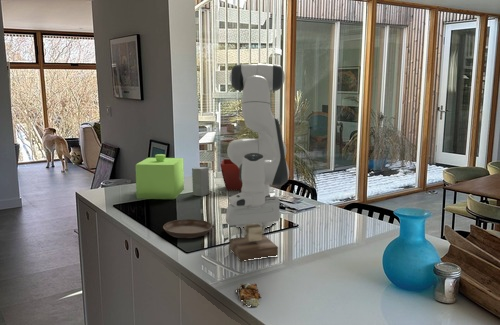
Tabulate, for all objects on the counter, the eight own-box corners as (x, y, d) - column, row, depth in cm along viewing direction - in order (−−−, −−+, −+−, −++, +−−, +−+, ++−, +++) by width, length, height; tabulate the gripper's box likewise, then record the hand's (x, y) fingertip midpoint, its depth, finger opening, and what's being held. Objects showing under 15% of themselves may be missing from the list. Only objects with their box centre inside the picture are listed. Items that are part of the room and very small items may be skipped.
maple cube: (244, 237, 169) (244, 224, 168) (257, 236, 171) (257, 223, 170) (249, 241, 165) (249, 228, 164) (261, 240, 166) (262, 227, 165)
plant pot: (220, 191, 268) (220, 163, 266) (223, 185, 287) (223, 158, 284) (252, 192, 268) (252, 164, 265) (253, 185, 287) (253, 159, 284)
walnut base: (229, 248, 173) (229, 238, 172) (263, 244, 177) (264, 234, 177) (241, 261, 160) (241, 251, 159) (277, 257, 164) (277, 246, 164)
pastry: (243, 309, 126) (243, 297, 126) (233, 291, 137) (233, 280, 137) (267, 306, 128) (267, 294, 127) (255, 288, 139) (255, 278, 139)
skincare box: (201, 196, 256) (201, 169, 253) (191, 195, 259) (191, 168, 257) (210, 193, 263) (210, 167, 260) (200, 192, 266) (199, 165, 264)
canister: (149, 189, 276) (148, 151, 272) (183, 189, 274) (183, 151, 271) (136, 198, 251) (135, 157, 247) (174, 199, 250) (173, 158, 246)
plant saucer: (205, 223, 206) (204, 216, 205) (218, 237, 187) (218, 229, 186) (159, 228, 198) (159, 221, 198) (168, 243, 179) (168, 235, 179)
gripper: (276, 194, 172) (275, 229, 174) (224, 198, 165) (224, 234, 167) (283, 198, 166) (282, 234, 168) (229, 202, 159) (229, 240, 161)
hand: (253, 234), depth 168 cm, fingers closed on maple cube, 5 cm apart
